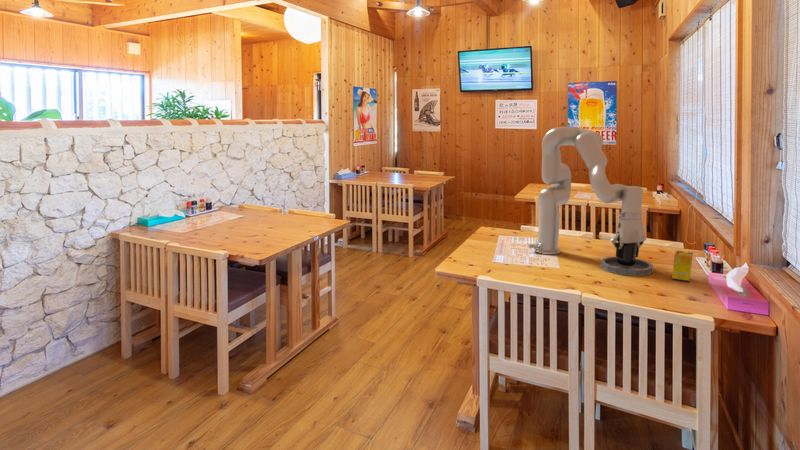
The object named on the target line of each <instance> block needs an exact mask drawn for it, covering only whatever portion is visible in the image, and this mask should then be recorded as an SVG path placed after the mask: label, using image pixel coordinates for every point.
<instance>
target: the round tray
mask: <svg viewBox="0 0 800 450" xmlns="http://www.w3.org/2000/svg"><path fill="white" fill-rule="evenodd" d="M599 262H600V264H599V266H600V268H601V269H602V270H603V271H605V272H607V273H611V274H615V275H619V276H626V277H644V276H649V275H651V274H653V271H654V265H653V264H652V263H651V262H649V261H647V260H645V259H641V258H638V257H636V260H635V265H633V266H624V265H620V264H618V257H616V256H606V257H603V258H602V259H600V261H599Z"/></svg>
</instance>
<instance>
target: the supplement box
mask: <svg viewBox="0 0 800 450" xmlns="http://www.w3.org/2000/svg"><path fill="white" fill-rule="evenodd" d="M693 255H694V253H693V251H686V250H675V253H674V256H673V257H674V258H673V268H672V276H671V281H676V282H681V283H682V282H683V283H690V280H691V272H692V264H693Z"/></svg>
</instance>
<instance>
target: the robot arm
mask: <svg viewBox="0 0 800 450" xmlns="http://www.w3.org/2000/svg"><path fill="white" fill-rule="evenodd" d="M603 145H604V138H603V136H602V135H601V134H600V133H599V132H596V131H592V130H589V129H585V128H581V127H577V126H557V127H553V128H551V129H550V130H548V131H547V132H546V133H545V134H544V136H543V138H542V141H541V152H542V153H541V155H542V157H541V180H542V182H543V183H544V184H545V185H552V186H548V187H545V188H542V189H541V190H540V191H539V193H538V197H537V202H538V231H537V233H538V234H537V240H536V241H535V242H534V243H528V245H527V247H528V248H529V249H534V252H535V251H536V252H535V253H537V252H538V254H541V253H542V255H558V254H559V255H560V253H562V249H561V248H559V235H560V217H561V216H560V215H561V214H560V209H559V206H561V205H565V204H567V203H568V202H569V200H570V198H571V191H572V172H571V169H570V167H569V165H567V164H565V163H562V153H561V150H560V147H561V146H562V147H563V146H565V147H566V146H572V147H575V148H576V149H577V151H578V153H579V155H580V157H581V159H582V160H583V162H584V163H585V166H586V167H587V169H588V176H589V177H588V178H589V182H590V186H591V188H592V191H593V192H594V193H595V196H596V197H597V198H598V200H599V201H600V202H602V203H604V204H612V203H617V202H621V209H620V213H618V217H619V219H618V222H617V225H616V232H615V235H614V236H613V237H612V238H611V239H610V242H611V243H612V244H613V246H614V248H615V249H616V250H615V257H618V258H622V253H623V249H621V248H622V247H623V245H624V244H628V243H635V244H636V245H637V250H636V258H638V257H639V251H640V250H639V249H640V248H641V246H642V245H644V242H645V241H646V240H647V237H646V236H645V235H644V223H643V219H642V217H641V216H642V206H643V197H644V188H643V187H641V186H638V185H637V186H635V185H625V184H622V183H614V184H611V183H610V181H609V180H608V177H607V174H606V167H607V164H608V158H607V156H606V154H605V152H604V151H603V150H602V147H603Z"/></svg>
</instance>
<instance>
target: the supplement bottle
mask: <svg viewBox="0 0 800 450" xmlns="http://www.w3.org/2000/svg"><path fill="white" fill-rule="evenodd" d="M621 249H623V253H622V258H618V264H620V265H624V266H633V265H635V260H636V258H637V257H636V250H637V245H636V244H635V243H628V244H624V245H623V247H622V248H621Z"/></svg>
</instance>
